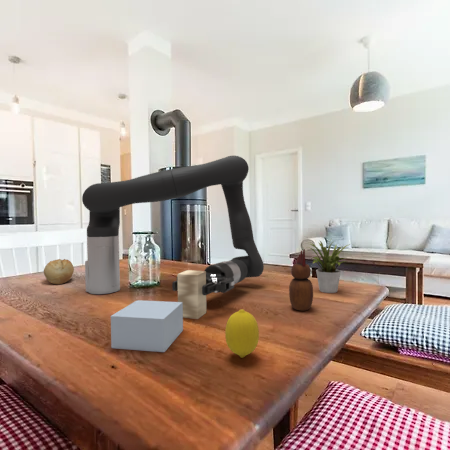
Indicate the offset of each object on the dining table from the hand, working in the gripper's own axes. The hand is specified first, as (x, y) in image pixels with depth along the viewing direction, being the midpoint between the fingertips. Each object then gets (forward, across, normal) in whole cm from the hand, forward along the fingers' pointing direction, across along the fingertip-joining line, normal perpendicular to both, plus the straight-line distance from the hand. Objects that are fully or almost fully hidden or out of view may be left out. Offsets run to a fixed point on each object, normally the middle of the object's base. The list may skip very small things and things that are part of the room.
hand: (188, 288), depth 70 cm
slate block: (+14, +1, +7) cm, 15 cm away
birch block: (-2, 0, +6) cm, 7 cm away
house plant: (-38, +23, +7) cm, 45 cm away
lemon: (+12, +20, +7) cm, 24 cm away
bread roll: (-10, -65, +7) cm, 66 cm away
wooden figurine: (-18, +22, +7) cm, 29 cm away
